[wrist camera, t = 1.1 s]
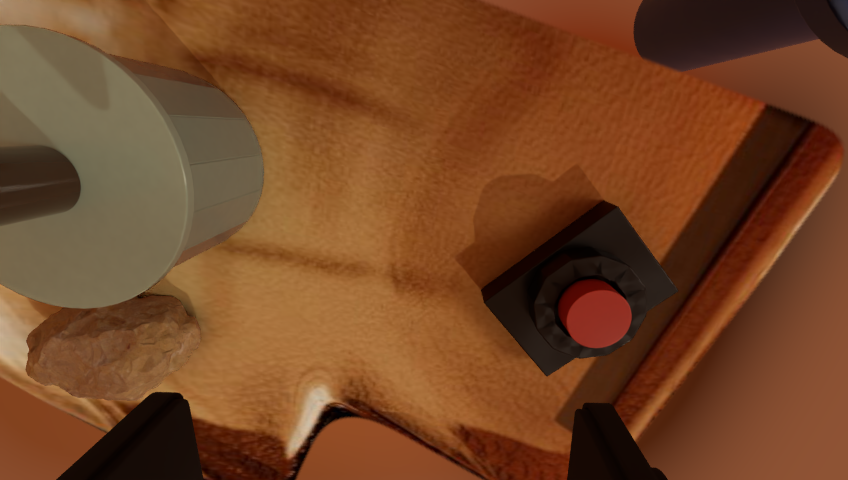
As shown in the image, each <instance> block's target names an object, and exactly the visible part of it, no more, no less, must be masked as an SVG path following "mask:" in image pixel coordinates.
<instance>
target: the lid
mask: <svg viewBox="0 0 848 480" xmlns="http://www.w3.org/2000/svg"><path fill="white" fill-rule="evenodd" d="M193 215H194V185H193V177H192V171H191V168H190V164H189V160H188V156H187V153H186V150H185V148H184V145H183V143H182V140H181V137H180V135H179V133H178V132H177V130H176V128H175V126H174V124H173V122H172V120H171V118H170V117H169V115H168V114H167V112H166V111H165V109H164V108H163V106H162V105H161V103H160V102H159V101H158V99H157V98H156V97H155V96H154V95H153V93H152V92H151V91H150V90H149V89H148V87H147V86H146V85H145V84H144V83H143V82H142V81H141V80H140V79H139V78H138V77H137V76H135V75H134V74H133V73H132V72H131V71H130V70H129V69H128V68H126V67H125V66H124V65H123V64H121V63H120V62H119V61H117V60H116V59H115V58H113V57H112V56H110V55H109V54H107V53H105V52H104V51H102V50H100V49H99V48H97V47H95V46H94V45H91V44H89V43H87V42H85V41H83V40H80V39H78V38H76V37H73V36H70V35H66V34H63V33H60V32H57V31H53V30H49V29H45V28H39V27H33V26H27V25H0V284H1V285H3V286H5V287H7V288H9V289H11V290H13V291H15V292H16V293H18V294H21V295H23V296H26V297H28V298H31V299H33V300H36V301H39V302H43V303H46V304H50V305H54V306H60V307H67V308H82V309H87V308H99V307H106V306H110V305H115V304H118V303H121V302H124V301H126V300H129V299H132V298H133V297H135V296H137V295H139V294H141V293H143V292H144V291H146V290H148V289H150V288H151V287H153V286H154V285H155V284H156V283H158V282H159V281H160V280H162V279H163V278H164V277H165V276H166V274H167V273H168V272H169V271H170V270H171V269H172V268H173V267H174V265H175V264H176V262H177V261H178V259H179V258H180V256H181V254H182V252H183V250H184V248H185V245H186V243H187V241H188V238H189V234H190V231H191V228H192V222H193Z"/></svg>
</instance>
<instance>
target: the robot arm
mask: <svg viewBox="0 0 848 480" xmlns="http://www.w3.org/2000/svg"><path fill="white" fill-rule="evenodd" d="M56 480H203V475H202V470H201V465H200V459H199V454H198V449H197V443H196V438H195V433H194V428H193V422H192V417H191V412H190V406H189V403H188V401H187V400H185V399H183V396H182V395H181V394H180V393H171V392H155V393H152V394H150V395H149V396H148V397H147V398H145V399H144V400H143V401H142V402H141V403H140V404H139V405H138V406H137V407H136V408H135V409H133V410H132V411H131V412H130V413H129V414H128V415H127V416H126V417H125V418H124V419H122V420H121V421H120V422H119V423H118V424H117V425H116V426H115V427H114V428H113V429H111V430H110V431H109V432H108V433H107V434H106V435H105V436H104V437H103V438H102V439H100V440H99V441H98V442H97V443H96V444H95V445H94V446H93V447H92V448H91V449H89V450H88V451H87V452H86V453H85V454H84V455H83V456H82V457H81V458H80V459H79V460H77V461H76V462H75V463H74V464H73V465H72V466H71V467H70V468H69V469H68V470H66V471H65V472H64V473H63V474H62V475H61V476H60V477H59V478H58V479H56ZM567 480H668V479H667V478H666V476H665V475H664V474H663V473H662V471H660V470H659V469H657V468H651V467H650V465H649V464H648V462H647V460H646V459H645V457H644V455H643V454H642V452H641V451H640V449H639V447H638V446H637V444H636V443H635V441H634V439H633V438H632V436H631V434H630V433H629V431H628V430H627V428H626V426H625V425H624V423H623V421H622V420H621V418H620V417H619V415H618V413H617V412H616V410H615V409H614V407H613V406H612V405H611V404H609V403H584V405H583V408H582V409H577V410H576V411H575V416H574V425H573V434H572V442H571V451H570V460H569V468H568V477H567Z"/></svg>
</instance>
